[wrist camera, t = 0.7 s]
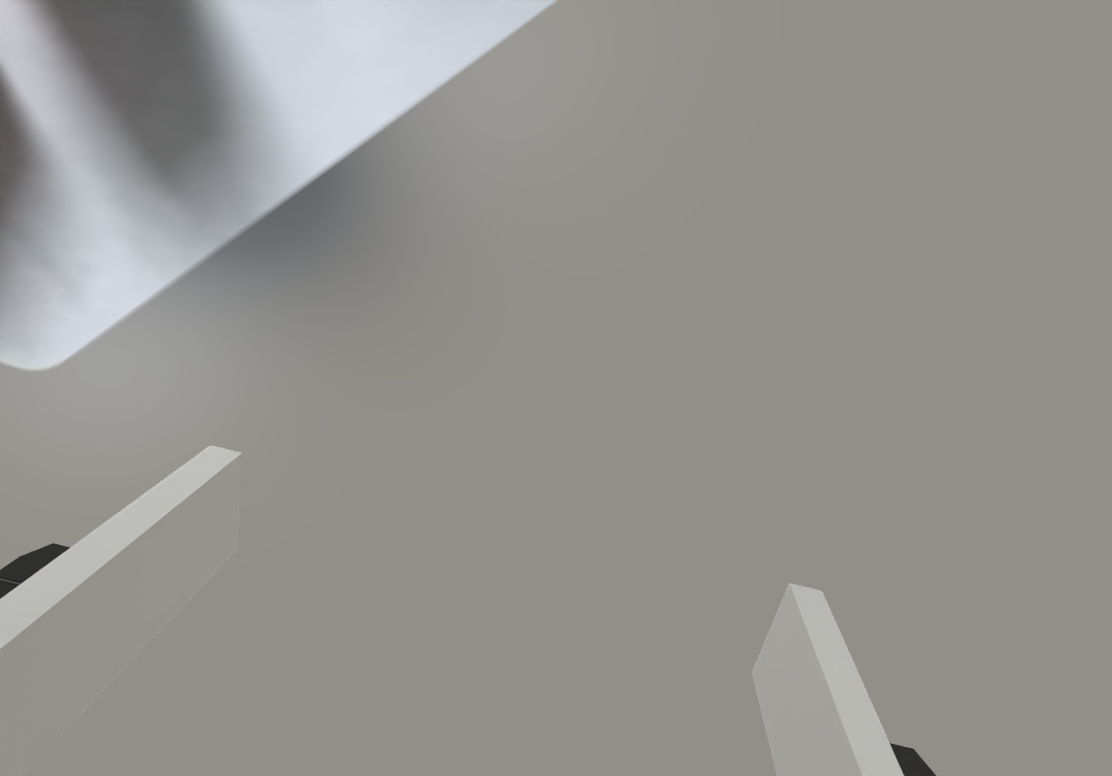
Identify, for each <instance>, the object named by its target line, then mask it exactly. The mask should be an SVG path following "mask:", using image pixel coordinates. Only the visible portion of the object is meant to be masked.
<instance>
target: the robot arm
mask: <svg viewBox="0 0 1112 776" xmlns="http://www.w3.org/2000/svg"><path fill="white" fill-rule="evenodd" d="M241 459H242V453H240V452H235V451H232V450H227V449H223V448H219V447H215V446H209V447H208V448H206V449H205V450H203V451H202V452H201V453H199V454H198V455H197V456H195V457H194V458H192V459H191V460H190V461H188V462H187V463H186V464H184V465H183V466H182V467H180V468H179V469H177V470H176V471H175V472H173V473H172V474H171V475H169V476H168V477H167V478H165V479H164V480H162V481H161V482H160V483H158V484H157V485H156V486H154V487H153V488H151V489H150V490H149V491H147V492H146V493H145V494H143V495H142V496H140V497H139V498H138V499H136V500H135V501H134V502H132V503H131V504H130V505H128V506H127V507H125V508H124V509H123V510H122V511H120V512H119V513H117V514H116V515H115V516H113V517H112V518H110V519H109V520H108V521H106V522H105V523H104V524H102V525H101V526H100V527H98V528H97V529H95V530H94V531H93V532H91V533H90V534H89V535H87V536H86V537H84V538H83V539H82V540H80V541H79V542H78V543H76V544H75V545H73V546H72V547H71V548H70V547H65V546H62V545H58V544H50V545H48V546H45V547H43V548H40V549H38V550H35V551H33V552H30V553H28V554H25V555H23V556H20V557H18V558H17V559H16V560H14V561H13V562H11V563H10V564H8V565H7V566H5V567H4V568H2V569H1V570H0V776H23V775H24V774H25V773H26V772H27V771H28V770H29V769H30V768H31V767H32V766H33V765H34V764H35V763H36V762H37V761H38V760H39V759H40V757H41V756H42V755H43V754H44V753H45V752H46V751H47V750H48V749H49V748H50V747H51V745H53V744H54V743H55V741H57V740H58V738H59V737H60V736H61V735H62V734H63V733H64V732H65V731H66V730H67V729H68V728H69V727H70V726H71V725H72V724H73V723H74V722H75V721H76V720H77V718H78V717H79V716H80V715H81V714H82V713H83V712H84V711H85V710H86V709H87V708H88V707H89V706H90V705H91V704H92V703H93V702H94V701H95V700H96V698H97V697H98V696H99V695H100V694H101V693H102V692H103V691H104V690H105V689H106V688H107V687H108V686H109V685H110V684H111V682H112V681H113V680H114V679H115V678H116V677H117V676H118V675H119V674H120V673H121V672H122V671H123V670H124V669H125V668H126V667H127V666H128V665H129V664H130V663H131V662H132V660H133V659H134V658H135V657H136V656H137V655H138V654H139V653H140V652H141V651H142V650H143V649H144V648H145V647H146V646H147V645H148V644H149V643H150V642H151V640H152V639H153V638H154V637H155V636H156V635H157V634H158V633H159V632H160V631H161V630H162V629H163V628H164V627H165V626H166V625H167V624H168V623H169V622H170V620H171V619H172V618H173V617H174V616H175V615H176V614H177V613H178V612H179V611H180V610H181V609H182V608H183V607H184V605H186V603H188V602H189V600H190V599H191V598H192V597H193V596H194V595H195V594H196V593H197V592H198V591H199V590H200V589H201V588H202V587H203V586H204V585H205V583H207V581H208V580H209V579H210V578H211V577H212V576H213V575H214V574H215V573H216V572H217V571H218V570H219V569H220V568H221V567H222V566H223V565H224V564H225V563H226V561H227V560H228V559H229V558H230V557H231V556H232V555H233V554H234V553H235V552H236V551H237V550H238V537H239V512H240V511H239V510H240V487H241V461H242V460H241ZM752 676H753V680H754V684H755V688H756V691H757V696H758V700H759V704H760V708H761V713H762V717H763V721H764V725H765V729H766V733H767V737H768V741H769V745H770V750H771V754H772V757H773V762H774V766H775V770H776V774H777V776H936V775H935V774H934V773H933V771H932V770H931V769H930V768H929V767H928V766H927V764H926V763H925V762H924V761H923V760H922V758H920V756H919V755H918V754H917V752H916V751H915V750H914V749H912V748H907V747H903V746H899V745H895V744H891V743H889V741H888V739H887V736H886V734H885V732H884V730H883V728H882V725H881V723H880V721H879V719H878V716H877V714H876V712H875V710H874V707H873V705H872V703H871V701H870V699H869V696H868V694H867V691H866V689H865V687H864V685H863V682H862V680H861V678H860V676H859V674H858V671H857V669H856V667H855V665H854V662H853V660H852V658H851V656H850V653H849V651H848V649H847V647H846V644H845V642H844V640H843V638H842V635H841V633H840V631H839V629H838V626H837V624H836V622H835V620H834V618H833V615H832V613H831V611H830V608H829V606H828V604H827V602H826V599H825V597H824V595H823V593H822V591H820V590H815V589H812V588H807V587H803V586H799V585H795V584H791V583H790V584H789V585H788V588H787V590H786V593H785V595H784V597H783V600H782V602H781V604H780V607H779V610H778V612H777V614H776V616H775V619H774V621H773V623H772V626H771V628H770V631H769V633H768V635H767V638H766V640H765V642H764V645H763V647H762V650H761V652H760V655H759V657H758V659H757V662H756V664H755V666H754V669H753V671H752Z"/></svg>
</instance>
